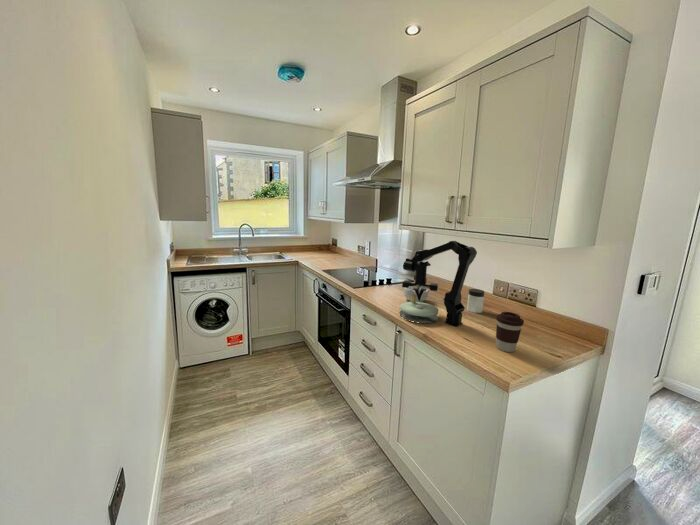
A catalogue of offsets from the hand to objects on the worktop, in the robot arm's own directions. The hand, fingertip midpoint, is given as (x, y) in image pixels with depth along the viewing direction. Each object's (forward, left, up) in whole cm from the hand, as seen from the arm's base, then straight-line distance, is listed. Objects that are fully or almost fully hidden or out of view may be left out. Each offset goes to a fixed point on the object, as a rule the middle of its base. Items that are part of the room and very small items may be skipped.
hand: (419, 300), depth 161 cm
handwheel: (-5, +6, -2) cm, 9 cm away
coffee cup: (-49, +4, -7) cm, 50 cm away
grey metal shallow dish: (-5, +6, -6) cm, 10 cm away
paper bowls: (+15, -16, -7) cm, 22 cm away
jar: (-16, -31, -7) cm, 35 cm away
